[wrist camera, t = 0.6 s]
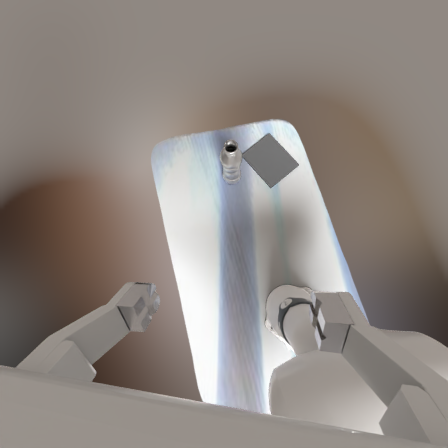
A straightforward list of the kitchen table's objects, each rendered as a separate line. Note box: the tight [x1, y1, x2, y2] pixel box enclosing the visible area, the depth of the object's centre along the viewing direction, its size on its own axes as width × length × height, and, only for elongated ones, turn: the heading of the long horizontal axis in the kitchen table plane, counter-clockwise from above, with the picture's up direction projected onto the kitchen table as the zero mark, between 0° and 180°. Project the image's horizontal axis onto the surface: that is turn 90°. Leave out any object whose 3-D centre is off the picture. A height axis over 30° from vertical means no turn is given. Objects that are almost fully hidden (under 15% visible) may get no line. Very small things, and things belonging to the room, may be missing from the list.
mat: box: [242, 133, 299, 188], centre depth 64 cm, size 16×13×1 cm
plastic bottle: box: [220, 140, 242, 185], centre depth 54 cm, size 6×7×20 cm
